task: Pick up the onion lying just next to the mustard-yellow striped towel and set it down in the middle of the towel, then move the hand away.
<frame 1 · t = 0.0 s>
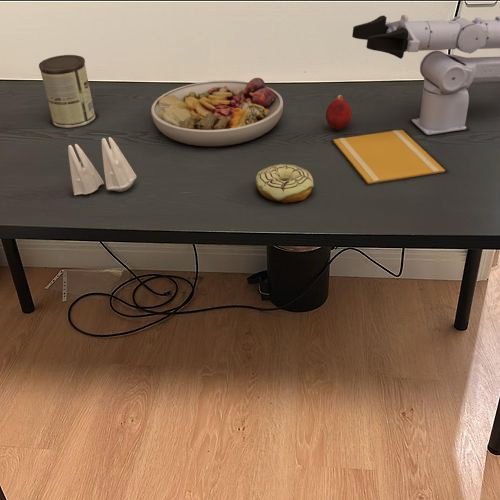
hand: (360, 37, 125), 22 cm above the table, tool horizontal, fingers open, 7 cm apart
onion: (338, 130, 142), on the table
shaker set: (106, 190, 123), on the table
bowl: (218, 124, 147), on the table
coffee can: (74, 120, 153), on the table
towel: (386, 155, 130), on the table
decorated donut: (284, 192, 120), on the table
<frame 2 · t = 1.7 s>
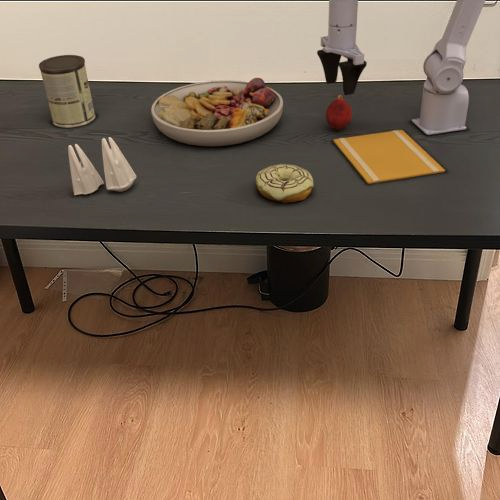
hand: (339, 88, 136), 10 cm above the table, tool pointing down, fingers open, 7 cm apart
nothing on the table moved.
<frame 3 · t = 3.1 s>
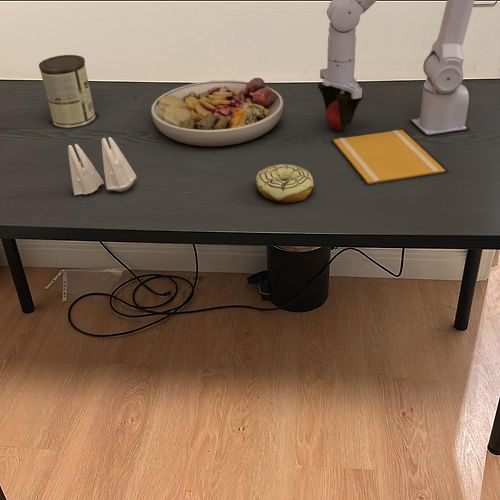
hand: (338, 119, 140), 3 cm above the table, tool pointing down, fingers closed on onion, 6 cm apart
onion: (338, 130, 142), on the table, touching gripper
everything else where it was.
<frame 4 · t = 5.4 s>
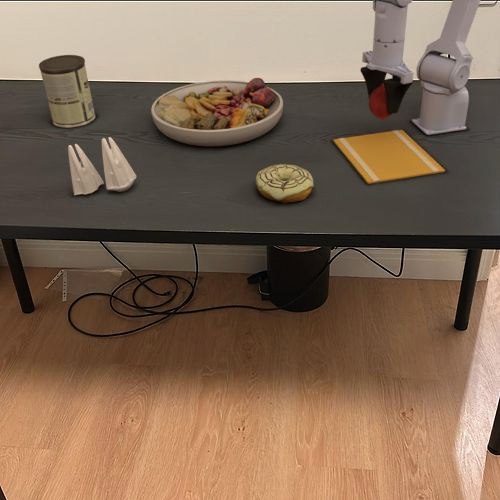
hand: (383, 107, 126), 10 cm above the table, tool pointing down, fingers closed on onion, 6 cm apart
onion: (382, 120, 128), point 7 cm above the table, touching gripper
everything else where it was.
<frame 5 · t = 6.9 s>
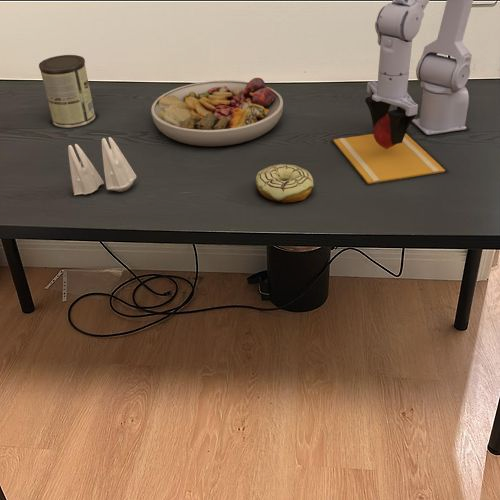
hand: (387, 136, 128), 4 cm above the table, tool pointing down, fingers closed on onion, 6 cm apart
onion: (386, 149, 129), point 1 cm above the table, touching gripper
everything else where it was.
when the fingers open (3 cm above the table, at t = 7.9 s): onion stays where it is, resting on towel.
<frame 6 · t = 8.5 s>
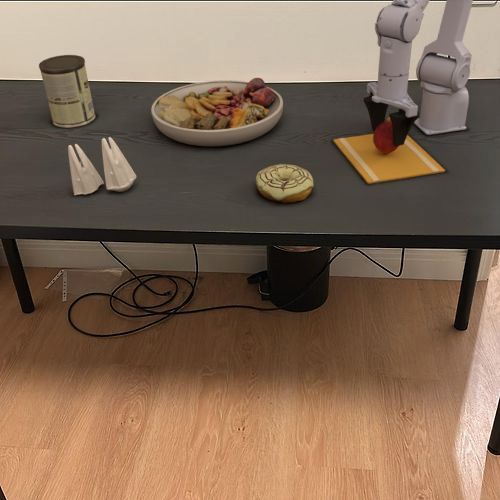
hand: (387, 137, 128), 4 cm above the table, tool pointing down, fingers open, 7 cm apart
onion: (386, 155, 130), resting on towel
everything else where it was.
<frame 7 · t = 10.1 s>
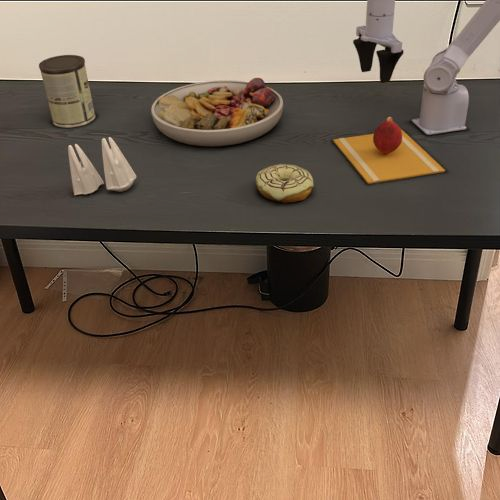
hand: (375, 76, 140), 10 cm above the table, tool pointing down, fingers open, 7 cm apart
nothing on the table moved.
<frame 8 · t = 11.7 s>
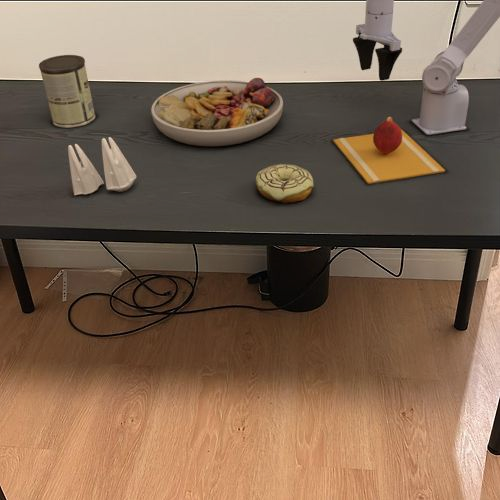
hand: (374, 74, 141), 10 cm above the table, tool pointing down, fingers open, 7 cm apart
nothing on the table moved.
at the end: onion inside the target area on the towel (0.0 cm from its centre), point 0.2 cm above the towel's base; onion touching towel; the gripper is holding nothing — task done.
